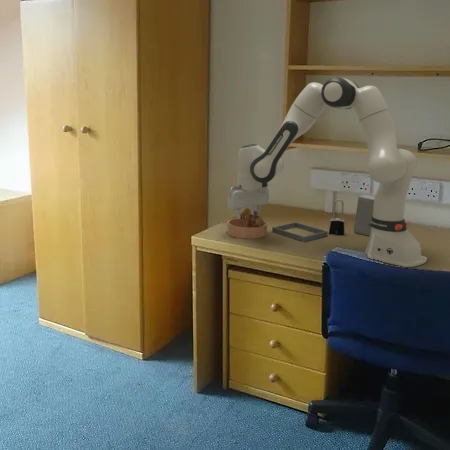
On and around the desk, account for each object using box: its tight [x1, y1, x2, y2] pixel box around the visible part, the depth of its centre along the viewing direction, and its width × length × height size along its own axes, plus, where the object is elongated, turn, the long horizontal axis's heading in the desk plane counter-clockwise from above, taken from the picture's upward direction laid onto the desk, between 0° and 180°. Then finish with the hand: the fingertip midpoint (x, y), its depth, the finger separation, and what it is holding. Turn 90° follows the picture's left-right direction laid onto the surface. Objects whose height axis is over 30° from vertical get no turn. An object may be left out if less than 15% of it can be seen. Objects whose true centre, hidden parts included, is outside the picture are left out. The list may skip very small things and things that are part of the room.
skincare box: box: [353, 194, 375, 237], centre depth 244 cm, size 8×7×16 cm
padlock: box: [328, 198, 346, 236], centre depth 242 cm, size 7×4×15 cm, turn 78°
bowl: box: [226, 217, 268, 240], centre depth 242 cm, size 16×16×4 cm
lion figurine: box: [239, 208, 265, 228], centre depth 242 cm, size 15×5×9 cm, turn 36°
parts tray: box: [271, 221, 329, 243], centre depth 243 cm, size 18×14×2 cm
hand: (248, 217), depth 241 cm, fingers open, 8 cm apart
